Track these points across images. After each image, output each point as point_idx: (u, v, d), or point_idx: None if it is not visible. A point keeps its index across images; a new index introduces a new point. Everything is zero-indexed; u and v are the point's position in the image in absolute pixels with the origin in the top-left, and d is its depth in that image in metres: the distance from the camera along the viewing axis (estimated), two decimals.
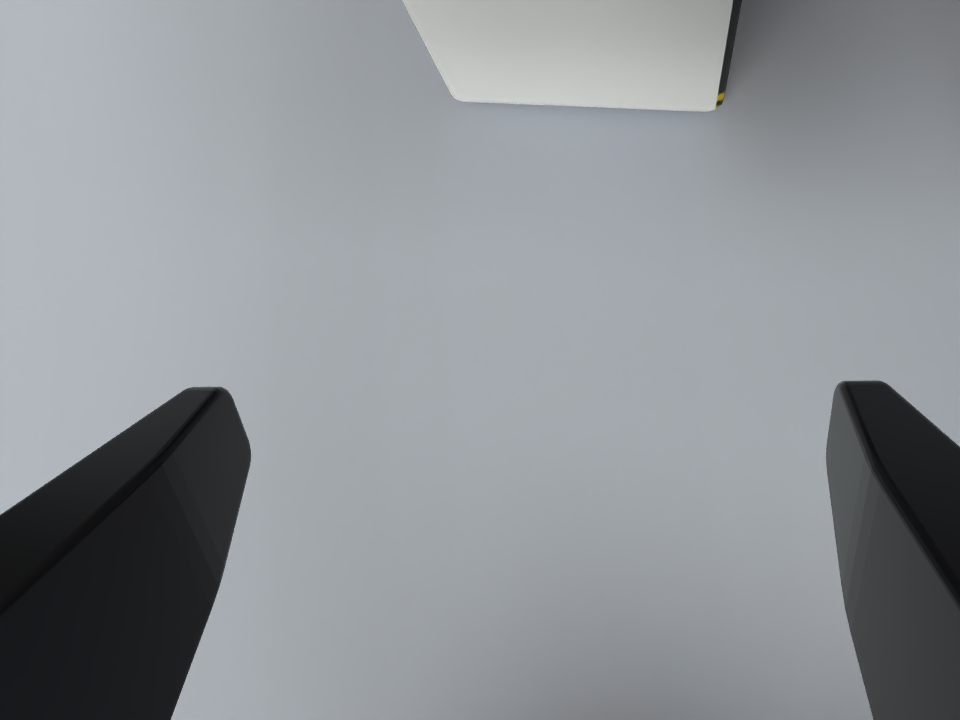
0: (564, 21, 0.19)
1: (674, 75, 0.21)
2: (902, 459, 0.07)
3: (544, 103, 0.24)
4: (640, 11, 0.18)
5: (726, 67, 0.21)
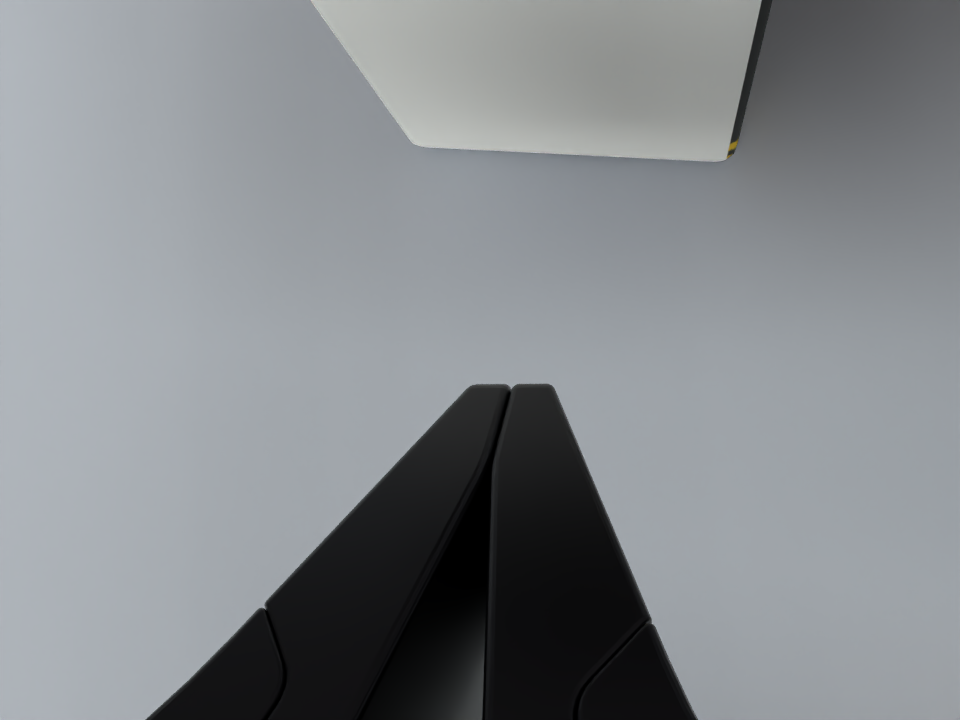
0: (538, 59, 0.15)
1: (676, 122, 0.17)
2: (517, 457, 0.08)
3: (519, 150, 0.20)
4: (634, 48, 0.14)
5: (741, 113, 0.17)
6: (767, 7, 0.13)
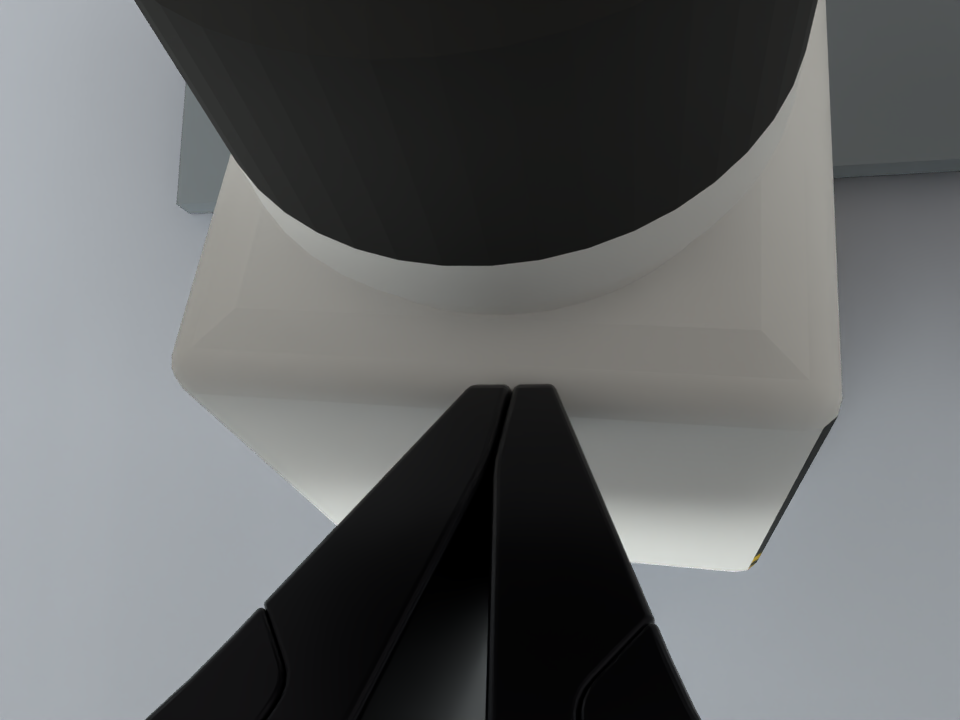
0: None
1: (687, 537, 0.13)
2: (519, 457, 0.08)
3: None
4: (635, 469, 0.10)
5: (773, 530, 0.13)
6: (826, 434, 0.09)
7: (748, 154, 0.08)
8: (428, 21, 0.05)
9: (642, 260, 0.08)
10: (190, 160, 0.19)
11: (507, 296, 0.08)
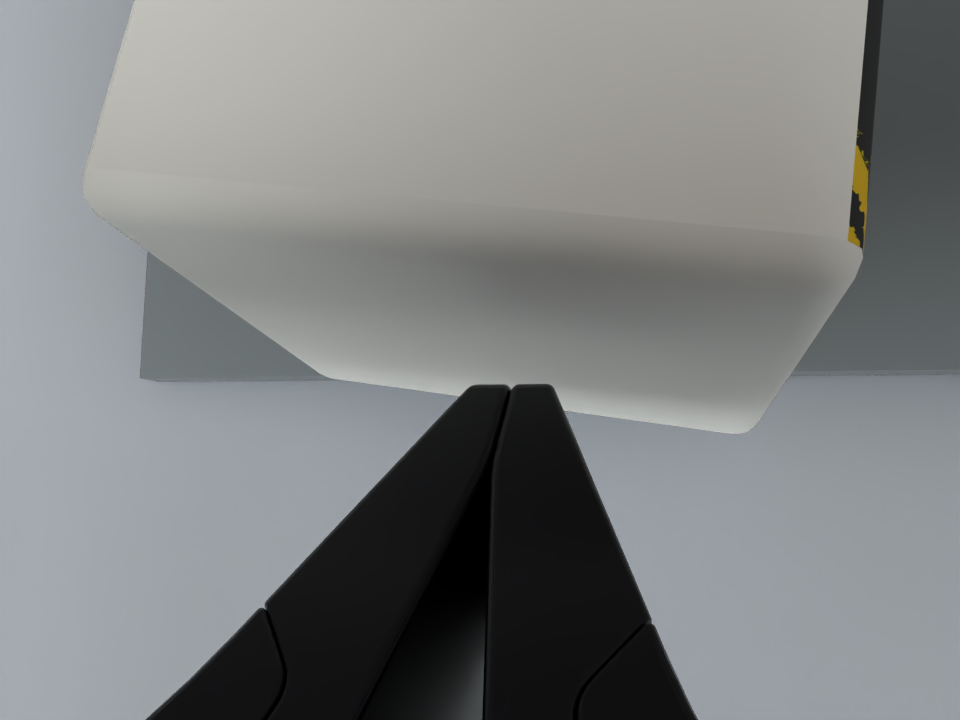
0: None
1: (737, 12, 0.08)
2: (517, 457, 0.08)
3: (328, 188, 0.08)
4: None
5: (877, 9, 0.08)
6: None
7: None
8: None
9: None
10: (155, 326, 0.17)
11: None
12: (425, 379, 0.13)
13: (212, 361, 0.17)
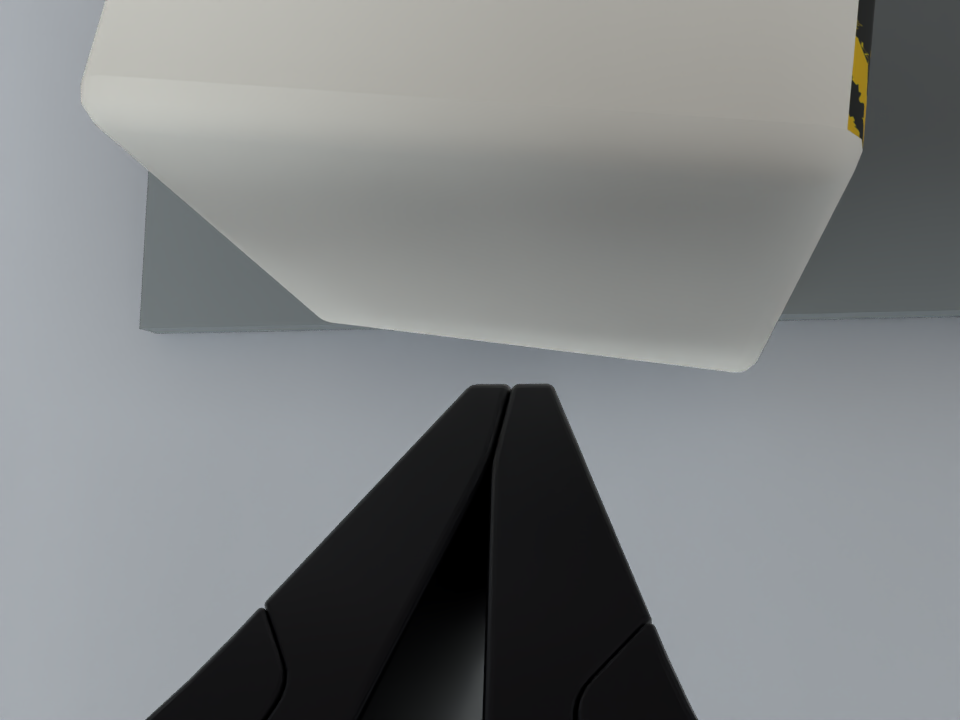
0: None
1: None
2: (517, 456, 0.08)
3: (326, 89, 0.08)
4: None
5: None
6: None
7: None
8: None
9: None
10: (154, 276, 0.17)
11: None
12: (425, 318, 0.13)
13: (211, 310, 0.17)
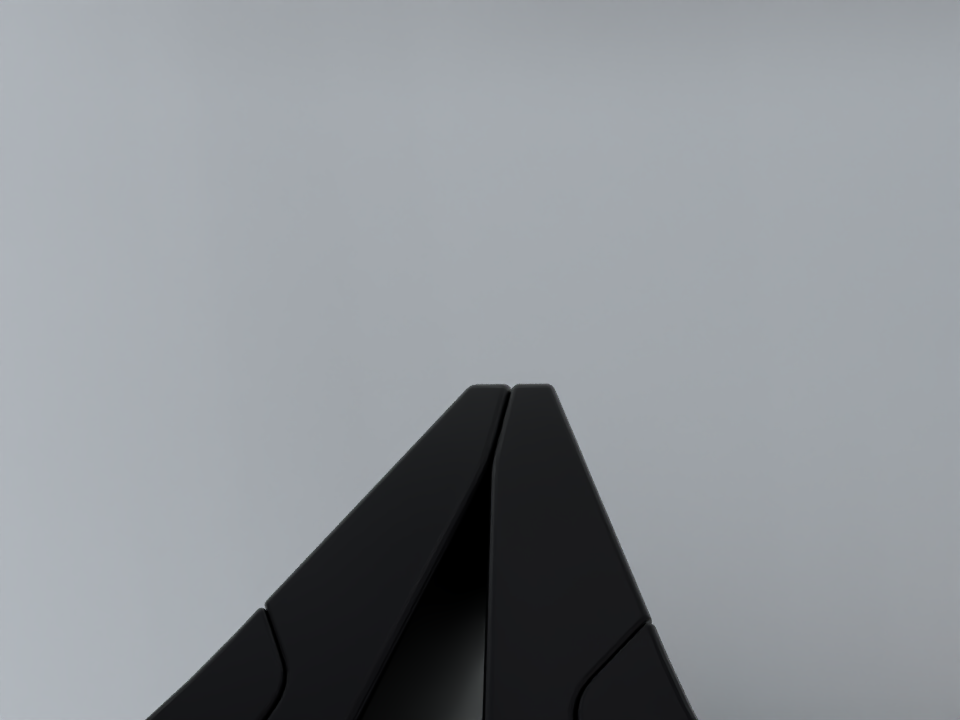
0: None
1: None
2: (517, 457, 0.08)
3: None
4: None
5: None
6: None
7: None
8: None
9: None
10: None
11: None
12: None
13: None
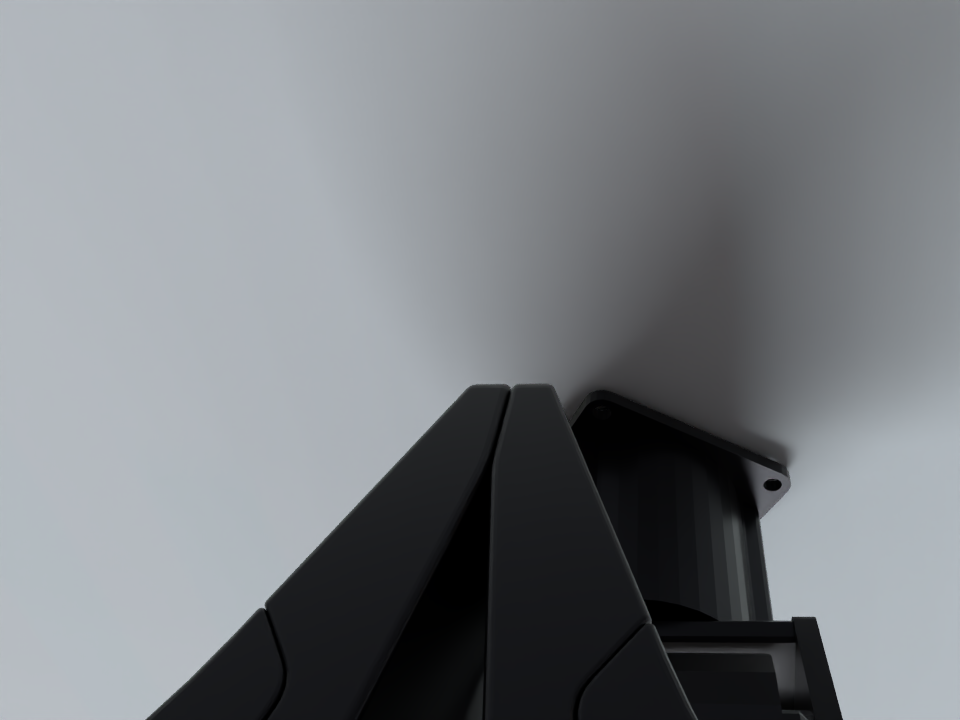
0: None
1: None
2: (517, 457, 0.08)
3: None
4: None
5: None
6: None
7: None
8: None
9: None
10: None
11: None
12: None
13: None
